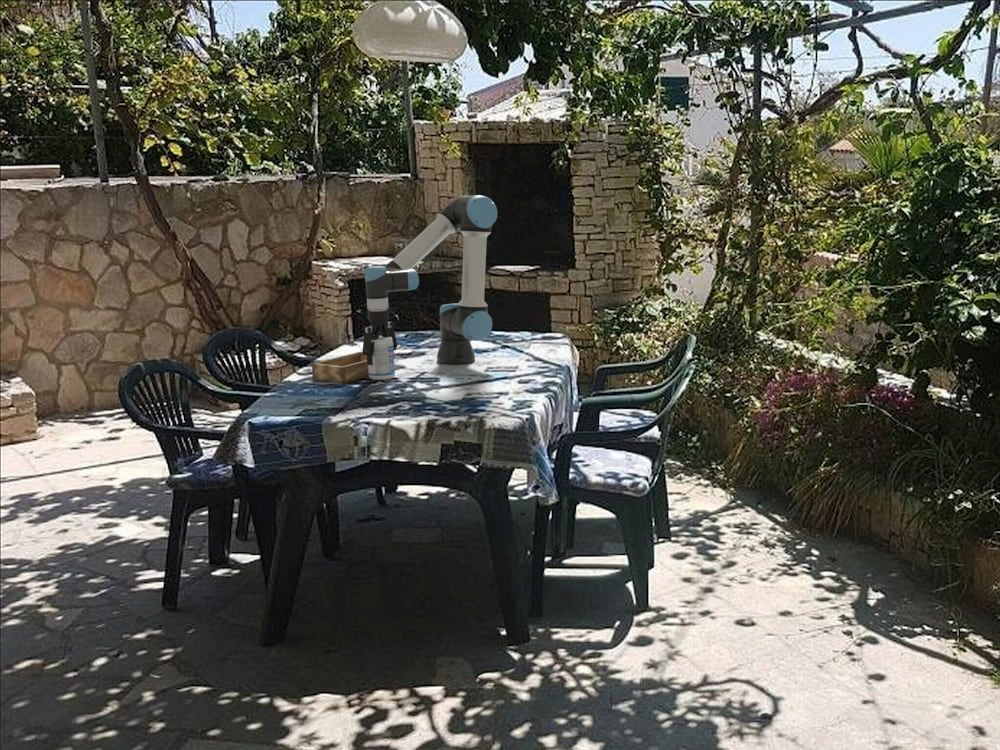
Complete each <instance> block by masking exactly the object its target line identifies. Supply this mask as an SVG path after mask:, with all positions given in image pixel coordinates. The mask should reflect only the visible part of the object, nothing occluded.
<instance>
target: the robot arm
mask: <svg viewBox="0 0 1000 750" xmlns="http://www.w3.org/2000/svg"><path fill="white" fill-rule="evenodd" d="M497 219H498V208H497V206H496V204H495V203H494V201H493V200H492V198H490V197H487V196H485V195H480V194H477V195H476V194H475V195H460V196H458V197H456V198H454V199H453V200H452V201H450V202H449V203H448V204H447V205H445V206H444V207H443V208H442V209H441V210H440V211H439V212H438V213H437V214H436V219H434V220H433V221H432V222H431V223H430V224H429V225H428V226H427V227H426V228H425V229H424V230H423V231H422V232H421V233H419V234H418V235H417V236H416V237H415V238H414V239H413V240H412V241H411V242H410V243H409V244H408V245H407V246H405V247H404V248H403V249H402V250H401V251H400V252H399V253H398V254H397V255H396V256H395V257H393V258H392V260H390V261H389V262H388V263H387V264H386V265H372V266H367V267H366V268H365V270H364V271H365V273H364V274H365V276H364V280H365V281H364V282H365V292H366V304H367V305H366V308H367V320H368V322H369V326H367V327H365V326H364V327H363V333H364V334H363V342H362V343H363V344H362V351H361V352H362V354H363V355H366V356H367V364H368V370H369V373H371V374H376V368H375V356H373V353H374V342H371V340H377V339H378V338H379V336H382V337H389V336H390V337H392V341H393V351H394V352H395V351H396V350H397V348H398V341H397V338H396V337H397V336H396V332H395V328H394V324H395V323H394V321H393V322H392V321H388V320H390V314H389V310H388V309H389V295H388V293H390V292H391V293H392V292H403V291H407V292H408V291H412V290H416V289H418V286H419V285H420V277H419V274H418V271H417V270H415V269H414V267H416V265H418V263H420V262H421V261H422V260H423V259H424V258H425V257H426V256H428V255H429V254H430V253H431V252H432V251H433V250H434V249H435V248H436V247H437V246H438V245H439V244H441V242H443V240H444V239H446V238H447V237H448V236H449V235H450V234H452V235H453V234H456V232H457V231H460V233H461V234H462V235H463V249H462V250H463V253H462V254H463V255H462V256H463V257H462V275H461V276H462V282H461V300H460V301H459V302H458V303H447V304H442V305H440V308H439V313H438V314H439V323H440V325H439V329H440V330H439V331H440V344H439V346H438V347H439V348H438V352H437V355H436V361H437V363H439V364H446V365H463V364H470V363H473V362H475V360H476V355H475V352H474V349H473V346H472V344H471V341H474V342H476V341H477V342H478V341H483V340H484V339H485V338H486V337H488V336H489V335H490V333H491V331H492V328H493V319H492V316H490V314H489V312H488V311H489V309H488V308H489V307H488V306H489V305H488V304H487V302H486V301H485V287H486V286H485V285H486V265H487V263H486V262H487V259H486V258H487V243H488V242H487V241H488V240H487V239H488V236H490V234H491V233H492V226H493V225H494V223H496V221H497Z"/></svg>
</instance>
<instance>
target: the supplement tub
mask: <svg viewBox="0 0 1000 750" xmlns="http://www.w3.org/2000/svg"><path fill="white" fill-rule="evenodd" d="M371 342H374V353H373V356H375V368H376V374H371V373H369V377H368V378H370V379H371V380H374V381H375V380H376V381H380V380H381V381H383V380H390V379H392V378H395V376H396V368H395V350H394V351H393V344H394V343H393V341H392V337H390V336H389V337H382V336H381V335H380V336H379V338H378V339H377V340H371ZM368 371H369V370H368Z"/></svg>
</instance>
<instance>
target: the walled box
mask: <svg viewBox="0 0 1000 750" xmlns="http://www.w3.org/2000/svg"><path fill="white" fill-rule="evenodd" d="M311 371H312V373H311V375H312V376H311V377H312V380H313V381H319V382H320V381H321V382H326V383H335V384H341V385H345V384H348V383H352V382H355V381H359V380H362V379H366V378H369V371H368V364H367V356H366V355H363V354H362V351H356V352H353V353H349V354H345V355H341V356H336V357H333V358H329V359H325V360H321V361H317V362H313V363H311Z"/></svg>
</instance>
